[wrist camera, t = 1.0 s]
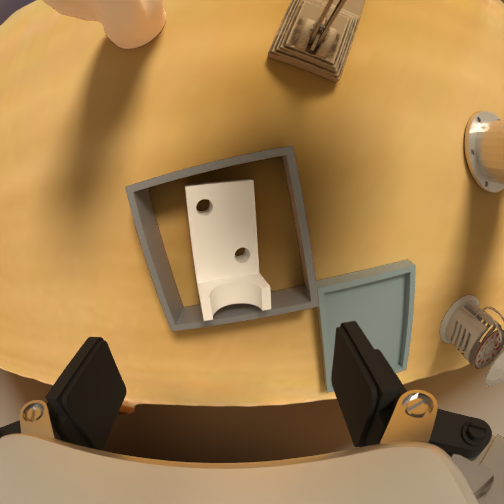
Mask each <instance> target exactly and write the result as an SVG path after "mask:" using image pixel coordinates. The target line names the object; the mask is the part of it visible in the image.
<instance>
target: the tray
mask: <svg viewBox="0 0 504 504" xmlns="http://www.w3.org/2000/svg"><path fill="white" fill-rule="evenodd" d="M316 286H317V294H318V302H319V306H318V307H317V311H318V319H319V328H320V338H321V348H322V358H323V370H324V382H325V387H326V390H327V393H328V392H332V391H334V389H333V386H332V382H331V375H332V366H333V356H334V345H335V334H336V328H337V327H340V325H341V323H344V322H350V321H356V322H357V324H358V325H359V327H360V328H361V330H362V331H363V333H364V334H365V336H366V337H367V339H368V340H369V342H370V343H371V345H372V346H373V348H374V349H379V350H380V351H381V352H382V354H383V355H384V357H385V358H386V360H387V361H388V363H389V364H390V366H391V367H392V369H393V370H394V372H395V373H398V372H401V371H404V370H406V367H407V361H408V355H409V347H410V340H411V331H412V321H413V309H414V294H415V264H413V263H412V262H411V261H409V260H408V259H407V260H403V261H399V262H395V263H391V264H387V265H383V266H379V267H374V268H370V269H366V270H362V271H357V272H353V273H348V274H344V275H339V276H335V277H330V278H326V279H321V280H316Z"/></svg>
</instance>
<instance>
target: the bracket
mask: <svg viewBox="0 0 504 504" xmlns="http://www.w3.org/2000/svg"><path fill="white" fill-rule="evenodd" d="M185 193H186V203H187V212H188V221H189V229H190V237H191V245H192V253H193V260H194V268H195V274H196V281H197V288H198V294H199V299H200V304H201V309H202V314H203V319H204V321H207V320H213V315H214V313H215V312H216V311H217V310H218V309H220V308H222V307H224V306H227V305H231V304H237V303H247V304H252V305H255V306H258V307H259V308H261V309H262V311H264V310H269V309H271V291H270V286H269V284H268V283H267V282H266V281H265V279H264V278H263V277H262V276H261V274H260V273H259V258H258V242H257V226H256V210H255V194H254V180H250V179H242V180H231V181H220V182H206V183H197V184H189V185H185ZM202 199H208V200H209V202H210V205H209V207H208V209H207V210H205V211H199V210H197V209H196V206H197V203H198V202H199V201H200V200H202ZM239 248H245V251H244V253H243V254H242V255H240V256H235V252H236V251H237V250H238V249H239Z"/></svg>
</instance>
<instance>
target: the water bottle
mask: <svg viewBox="0 0 504 504" xmlns="http://www.w3.org/2000/svg"><path fill="white" fill-rule="evenodd" d="M43 1H44V2H45V3H46V4H48V5H49V6H51V7H52V8H53V9H55V10H56V11H57V12H59V13H61V14H63V15H66V16H71V17H75V18H78V19H82V20H87V21H98V22H100V23H102V25H103V27H104V31H105V34H106V35H107V37H108V38H109V39H110V40H111V41H112V42H114V43H115V44H116V45H117V46H118V47H120V48H123V49H132V48H137V47H140V46H143V45H145V44H147V43H148V42H150V41H151V40H152V39H154V38H155V37H156V36H157V35H158V34H159V33H160V32H161V30H162V29H163V27H164V25H165V21H166V13H165V11H164V9H163V0H43Z"/></svg>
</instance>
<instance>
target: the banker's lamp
mask: <svg viewBox="0 0 504 504" xmlns="http://www.w3.org/2000/svg"><path fill="white" fill-rule="evenodd" d="M364 2H365V0H292V1H291V3H290V5H289V7H288V9H287V11H286V13H285V16H284V18H283V20H282V22H281V24H280V27H279V29H278V31H277V33H276V36H275V38H274V40H273V43H272V45H271V47H270V50H269V52H268V57H269V58H272V59H275V60H278V61H281V62H284V63H287V64H290V65H293V66H296V67H298V68H301V69H304V70H306V71H309V72H311V73H314V74H316V75H319V76H321V77H324V78H326V79H328V80H331V81H333V82H335V83H336V82H337V81H338V80H339V79H340V76H341V73H342V71H343V68H344V65H345V62H346V59H347V56H348V53H349V50H350V47H351V44H352V41H353V38H354V35H355V32H356V29H357V26H358V23H359V20H360V15H361V12H362V9H363V6H364Z"/></svg>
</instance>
